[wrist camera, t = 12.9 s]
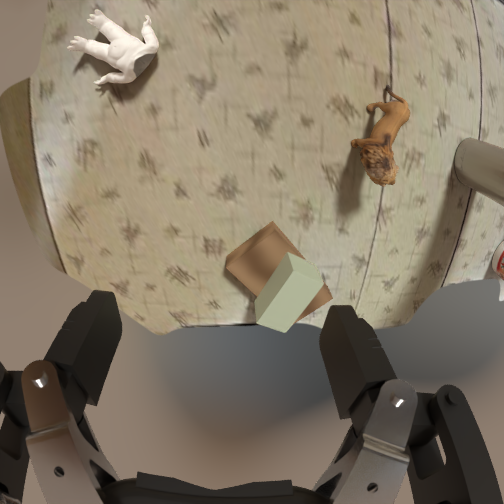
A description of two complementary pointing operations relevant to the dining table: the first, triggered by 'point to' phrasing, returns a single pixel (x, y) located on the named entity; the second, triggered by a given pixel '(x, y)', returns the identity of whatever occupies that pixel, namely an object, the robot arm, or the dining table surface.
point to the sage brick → (287, 293)
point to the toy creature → (119, 48)
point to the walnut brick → (267, 263)
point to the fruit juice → (499, 260)
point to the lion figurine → (383, 140)
